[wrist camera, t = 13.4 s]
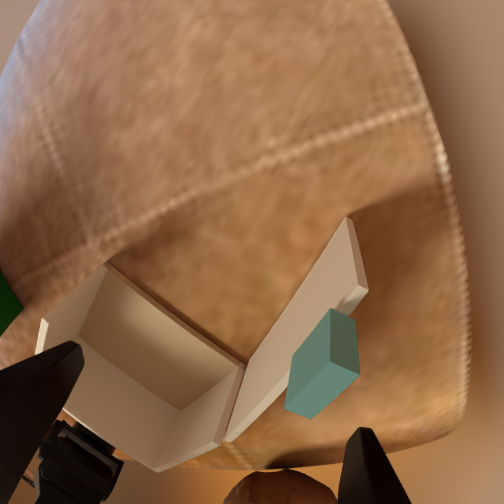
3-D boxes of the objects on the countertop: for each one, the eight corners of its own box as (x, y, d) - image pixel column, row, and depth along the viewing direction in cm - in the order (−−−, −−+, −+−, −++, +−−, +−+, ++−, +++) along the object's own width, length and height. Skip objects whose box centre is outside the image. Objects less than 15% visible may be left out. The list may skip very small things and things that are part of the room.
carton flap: (245, 358, 25) (205, 476, 15) (340, 213, 18) (356, 332, 9) (258, 364, 25) (224, 483, 15) (357, 223, 18) (387, 347, 9)
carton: (185, 411, 30) (157, 472, 23) (75, 331, 29) (30, 382, 22) (246, 365, 25) (220, 445, 18) (106, 261, 24) (42, 317, 17)
